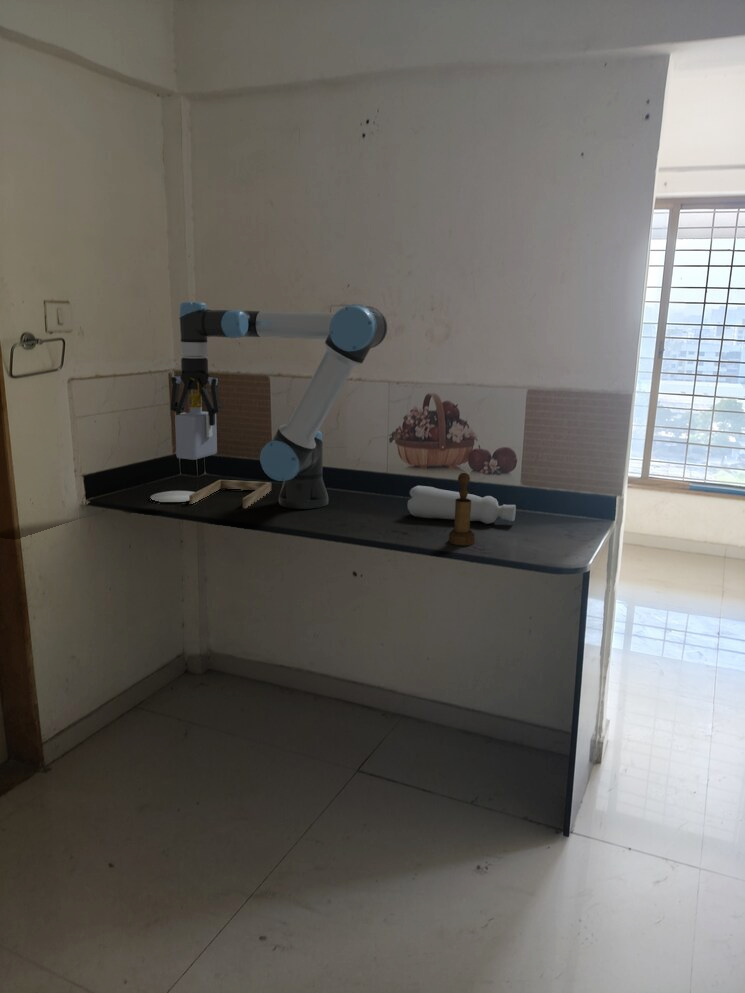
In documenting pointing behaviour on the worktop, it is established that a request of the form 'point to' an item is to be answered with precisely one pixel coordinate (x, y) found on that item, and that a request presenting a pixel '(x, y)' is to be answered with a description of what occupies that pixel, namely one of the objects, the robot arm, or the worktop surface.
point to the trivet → (172, 496)
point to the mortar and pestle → (462, 515)
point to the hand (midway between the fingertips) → (196, 435)
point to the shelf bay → (259, 488)
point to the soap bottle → (194, 432)
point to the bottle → (443, 505)
